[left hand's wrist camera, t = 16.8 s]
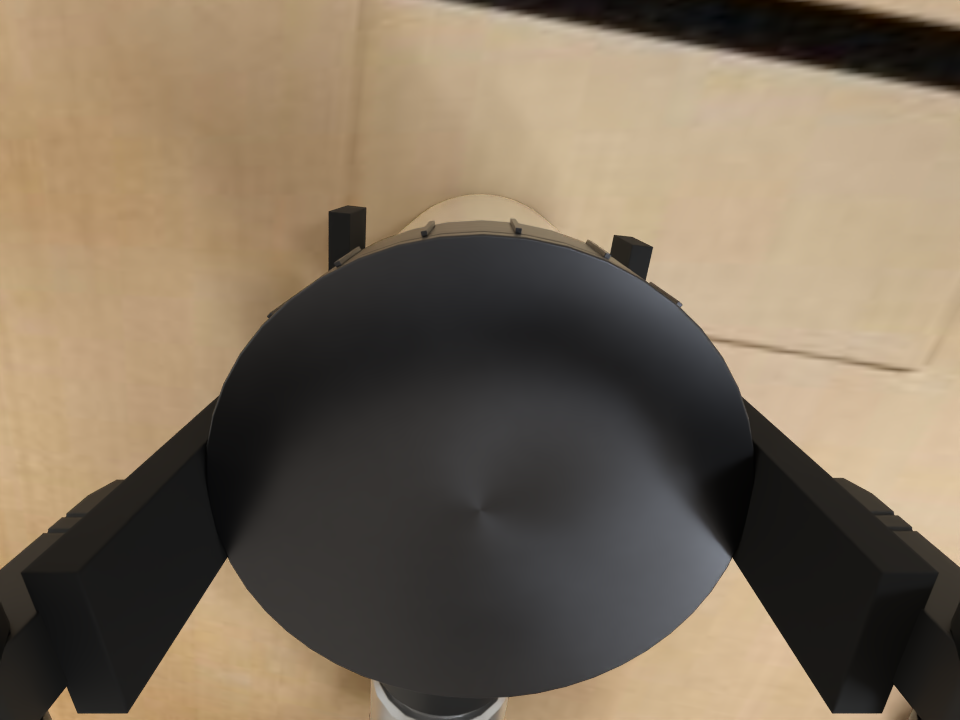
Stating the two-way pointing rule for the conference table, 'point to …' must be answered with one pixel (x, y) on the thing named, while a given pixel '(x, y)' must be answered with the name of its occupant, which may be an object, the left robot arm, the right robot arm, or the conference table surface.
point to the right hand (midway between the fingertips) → (491, 224)
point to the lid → (480, 462)
